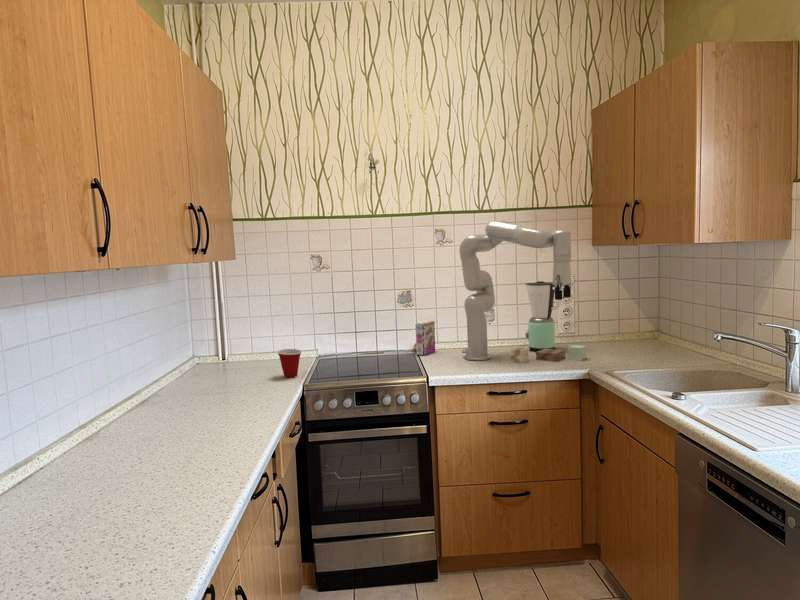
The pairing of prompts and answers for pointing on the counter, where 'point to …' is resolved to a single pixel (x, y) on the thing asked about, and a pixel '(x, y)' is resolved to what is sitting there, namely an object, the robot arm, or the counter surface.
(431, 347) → the candy bar box
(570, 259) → the robot arm
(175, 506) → the counter surface
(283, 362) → the plastic cup
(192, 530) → the counter surface
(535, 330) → the mint green blender
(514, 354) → the ash block
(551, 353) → the walnut base block
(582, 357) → the sage painted block
